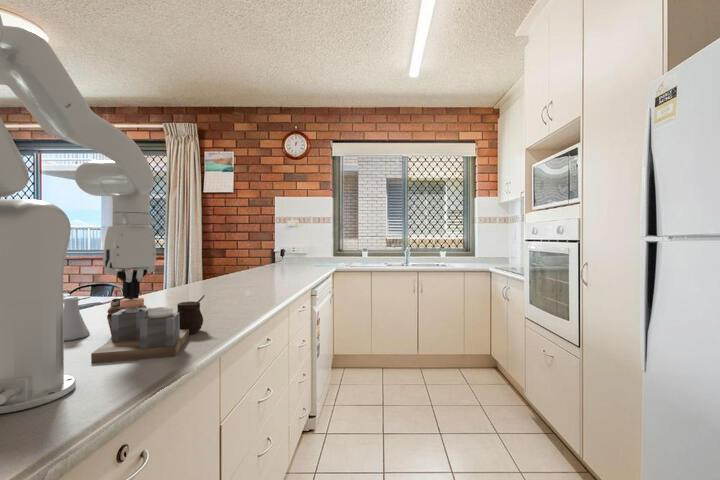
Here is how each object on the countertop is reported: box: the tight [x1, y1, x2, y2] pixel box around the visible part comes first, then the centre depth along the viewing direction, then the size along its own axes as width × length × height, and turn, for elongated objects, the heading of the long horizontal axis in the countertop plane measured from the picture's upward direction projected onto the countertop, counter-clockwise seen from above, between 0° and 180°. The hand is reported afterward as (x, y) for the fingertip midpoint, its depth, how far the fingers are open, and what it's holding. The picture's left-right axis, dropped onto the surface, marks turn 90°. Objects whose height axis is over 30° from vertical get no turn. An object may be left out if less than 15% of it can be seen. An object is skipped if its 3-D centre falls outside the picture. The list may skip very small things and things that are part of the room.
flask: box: [63, 297, 91, 342], centre depth 91 cm, size 7×7×10 cm
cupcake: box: [106, 297, 148, 337], centre depth 95 cm, size 10×10×10 cm
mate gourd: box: [176, 295, 206, 335], centre depth 96 cm, size 7×8×10 cm
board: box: [90, 307, 190, 364], centre depth 82 cm, size 16×16×8 cm
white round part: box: [148, 306, 174, 318], centre depth 80 cm, size 5×5×6 cm
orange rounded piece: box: [120, 297, 145, 313], centre depth 85 cm, size 5×5×6 cm
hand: (131, 298), depth 85 cm, fingers closed
